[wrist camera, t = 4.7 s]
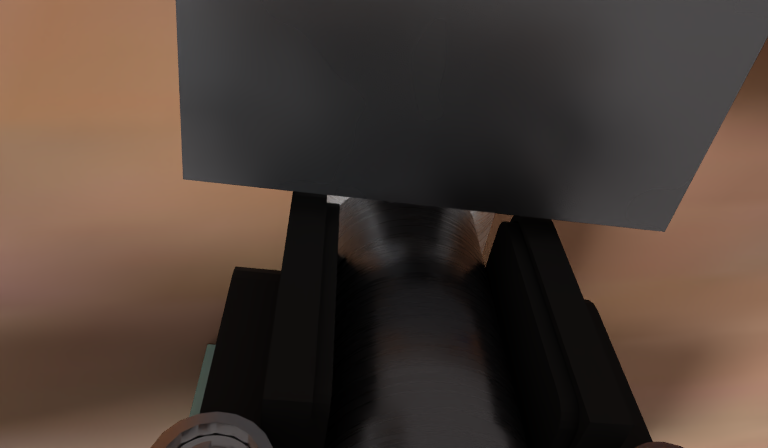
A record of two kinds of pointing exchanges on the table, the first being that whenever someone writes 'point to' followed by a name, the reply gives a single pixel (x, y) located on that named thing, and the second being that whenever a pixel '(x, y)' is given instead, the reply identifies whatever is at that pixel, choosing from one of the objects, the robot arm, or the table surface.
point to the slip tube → (417, 332)
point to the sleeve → (465, 100)
